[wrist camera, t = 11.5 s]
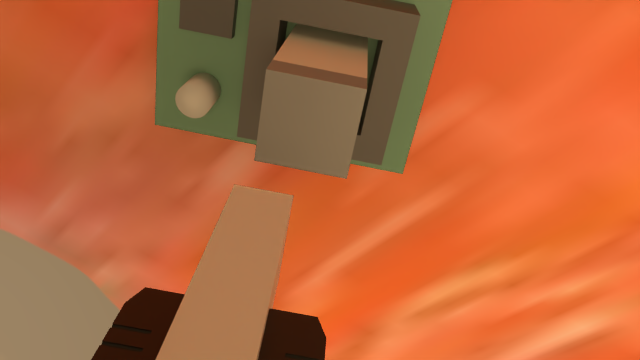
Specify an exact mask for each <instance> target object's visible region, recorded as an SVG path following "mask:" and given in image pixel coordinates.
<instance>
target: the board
mask: <svg viewBox="0 0 640 360" xmlns="http://www.w3.org/2000/svg"><path fill="white" fill-rule="evenodd" d="M451 3H452V0H158V32H157V69H156V105H155V125H160V126H165V127H170V128H175V129H180V130H185V131H190V132H195V133H200V134H205V135H210V136H215V137H220V138H225V139H230V140H235V141H240V142H245V143H250V144H255V145H256V144H257V136H258V128H259V121H260V113H261V105H262V97H263V90H264V82H265V74H266V69H267V67H268V66H269V64H270V63H271V61H272V60H273V58H274V57H275V55H276V54H277V52H278V51H279V49H280V48H281V46H282V45H283V43H284V42H285V40H286V39H287V37H288V36H289V34H290V33H291V32H292V30H293V29H294V27H295V26H296V24H297V23H298V24H303V25H308V26H313V27H318V28H323V29H328V30H333V31H338V32H343V33H348V34H353V35H358V36H363V37H368V61H367V92H366V97H365V101H364V105H363V110H362V114H361V118H360V123H359V127H358V131H357V136H356V140H355V145H354V149H353V153H352V158H351V162H350V163H351V164H356V165H361V166H366V167H371V168H376V169H381V170H386V171H391V172H396V173H401V174H403V171H404V167H405V164H406V160H407V157H408V153H409V150H410V146H411V143H412V139H413V136H414V132H415V129H416V125H417V122H418V118H419V115H420V111H421V108H422V104H423V101H424V97H425V94H426V91H427V87H428V84H429V80H430V77H431V73H432V70H433V66H434V63H435V59H436V56H437V52H438V49H439V45H440V42H441V38H442V35H443V31H444V28H445V24H446V21H447V17H448V14H449V10H450V7H451Z"/></svg>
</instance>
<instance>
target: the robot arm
mask: <svg viewBox="0 0 640 360" xmlns="http://www.w3.org/2000/svg"><path fill="white" fill-rule="evenodd" d="M292 201H293V195H289V194H283V193H278V192H273V191H267V190H262V189H257V188H251V187H246V186H241V185H235V184H234V186H233V188H232V191H231V193H230V195H229V197H228V200H227V202H226V204H225V206H224V209H223V211H222V213H221V215H220V217H219V220H218V222H217V224H216V226H215V229H214V231H213V233H212V235H211V237H210V240H209V242H208V244H207V246H206V249H205V251H204V253H203V255H202V257H201V260H200V262H199V264H198V266H197V269H196V271H195V273H194V275H193V277H192V280H191V282H190V284H189V286H188V289H187V291H186V293H185V294H179V293H174V292H168V291H163V290H157V289H152V288H146V287H145V288H144V289H143V290H141V291H140V292H139V293H137V294H136V295H135V296H133V297H132V298H131V299H129V300H128V301H127V302H126V303H125V304H124V305H123V307H122V309H121V310H120V312H119V314H118V316H117V317H116V319H115V320H114V322H113V325H112V328H110V329H109V331H108V332H107V334H106V336H105V337H104V339H103V341H102V345H100V346H99V348H98V349H97V351H96V353H95V354H94V356H93V358H92V359H91V360H325V346H326V336H325V334H324V332H323V329H322V327H321V324H320V322H319V320H318V317H314V316H309V315H303V314H298V313H292V312H287V311H281V310H276V309H272V308H273V303H274V299H275V294H276V289H277V285H278V280H279V274H280V269H281V263H282V257H283V252H284V246H285V240H286V235H287V229H288V224H289V218H290V212H291V207H292Z"/></svg>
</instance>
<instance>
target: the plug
mask: <svg viewBox="0 0 640 360" xmlns="http://www.w3.org/2000/svg"><path fill="white" fill-rule="evenodd" d="M367 61H368V37H363V36H358V35H353V34H348V33H343V32H338V31H333V30H328V29H323V28H318V27H313V26H308V25H303V24H298V23H297V24H296V26H295V27H294V29H293V30H292V32H291V33H290V34H289V36H288V37H287V39H286V40H285V42H284V43H283V45H282V46H281V48H280V49H279V51H278V52H277V54H276V55H275V57H274V58H273V60H272V61H271V63H270V64H269V66H268V67H267V69H266V74H265V82H264V90H263V97H262V105H261V113H260V121H259V128H258V136H257V144H256V151H255V159H254V160H255V161H260V162H265V163H270V164H275V165H280V166H285V167H290V168H295V169H300V170H305V171H310V172H315V173H320V174H325V175H330V176H335V177H340V178H345V179H347V175H348V171H349V166H350V162H351V158H352V153H353V149H354V145H355V140H356V136H357V131H358V127H359V123H360V118H361V114H362V110H363V105H364V101H365V97H366V92H367Z"/></svg>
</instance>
